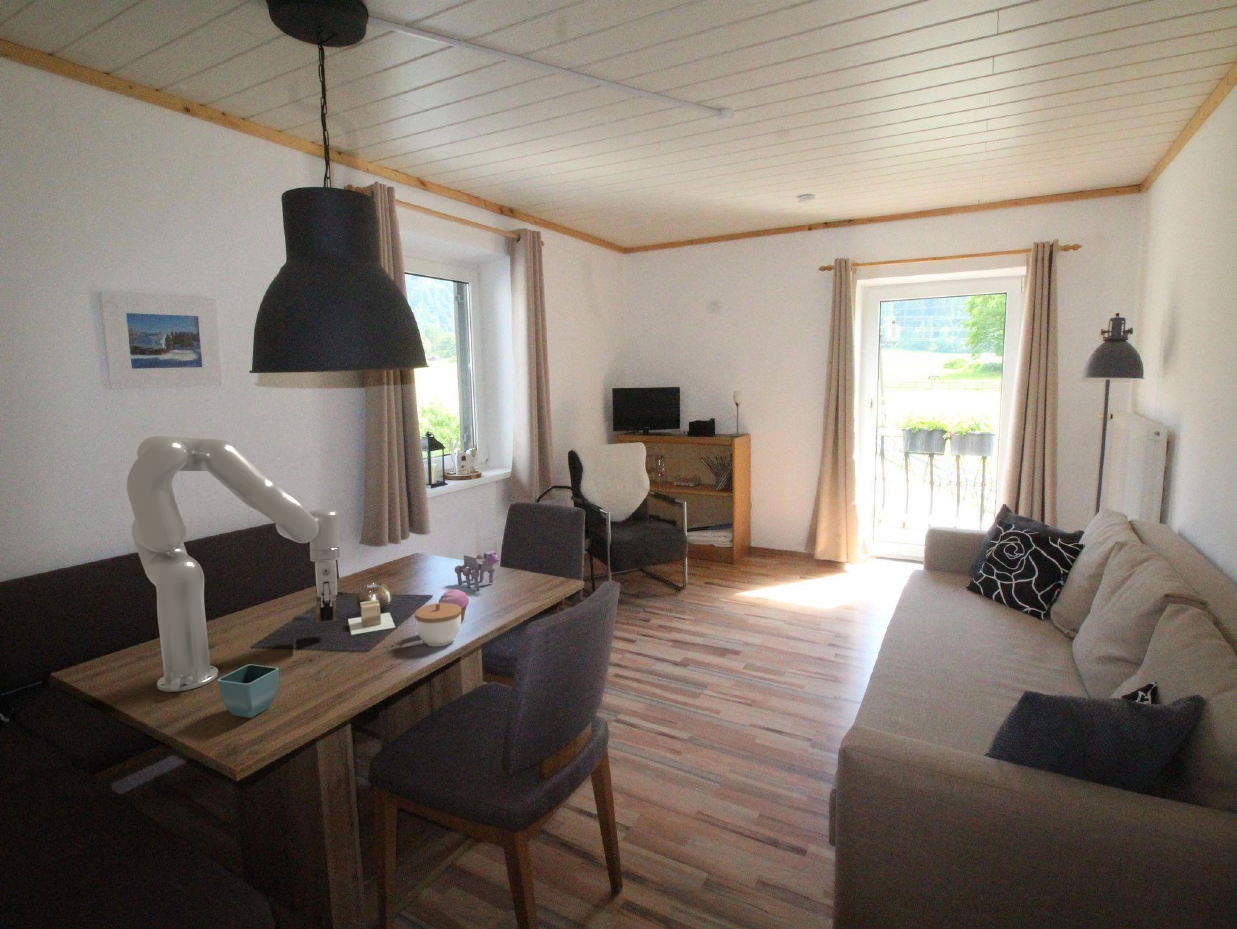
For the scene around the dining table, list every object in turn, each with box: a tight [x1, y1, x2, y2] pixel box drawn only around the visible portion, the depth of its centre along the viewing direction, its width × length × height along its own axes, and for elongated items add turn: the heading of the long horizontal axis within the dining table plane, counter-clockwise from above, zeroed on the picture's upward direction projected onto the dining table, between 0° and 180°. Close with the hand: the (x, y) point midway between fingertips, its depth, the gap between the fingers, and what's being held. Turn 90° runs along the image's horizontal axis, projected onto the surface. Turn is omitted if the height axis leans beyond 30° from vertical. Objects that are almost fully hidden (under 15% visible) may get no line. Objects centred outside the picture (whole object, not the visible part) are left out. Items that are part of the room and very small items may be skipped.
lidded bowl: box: [414, 602, 462, 648], centre depth 183 cm, size 13×13×11 cm
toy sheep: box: [454, 549, 501, 590], centre depth 232 cm, size 20×11×14 cm, turn 52°
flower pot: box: [216, 663, 280, 719], centre depth 145 cm, size 9×9×9 cm
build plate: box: [347, 612, 396, 636], centre depth 195 cm, size 14×12×1 cm
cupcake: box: [437, 589, 470, 622], centre depth 197 cm, size 9×9×10 cm
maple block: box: [359, 599, 381, 627], centre depth 195 cm, size 5×5×6 cm
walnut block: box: [315, 594, 337, 624], centre depth 184 cm, size 5×5×6 cm
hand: (326, 616), depth 184 cm, fingers closed on walnut block, 5 cm apart
